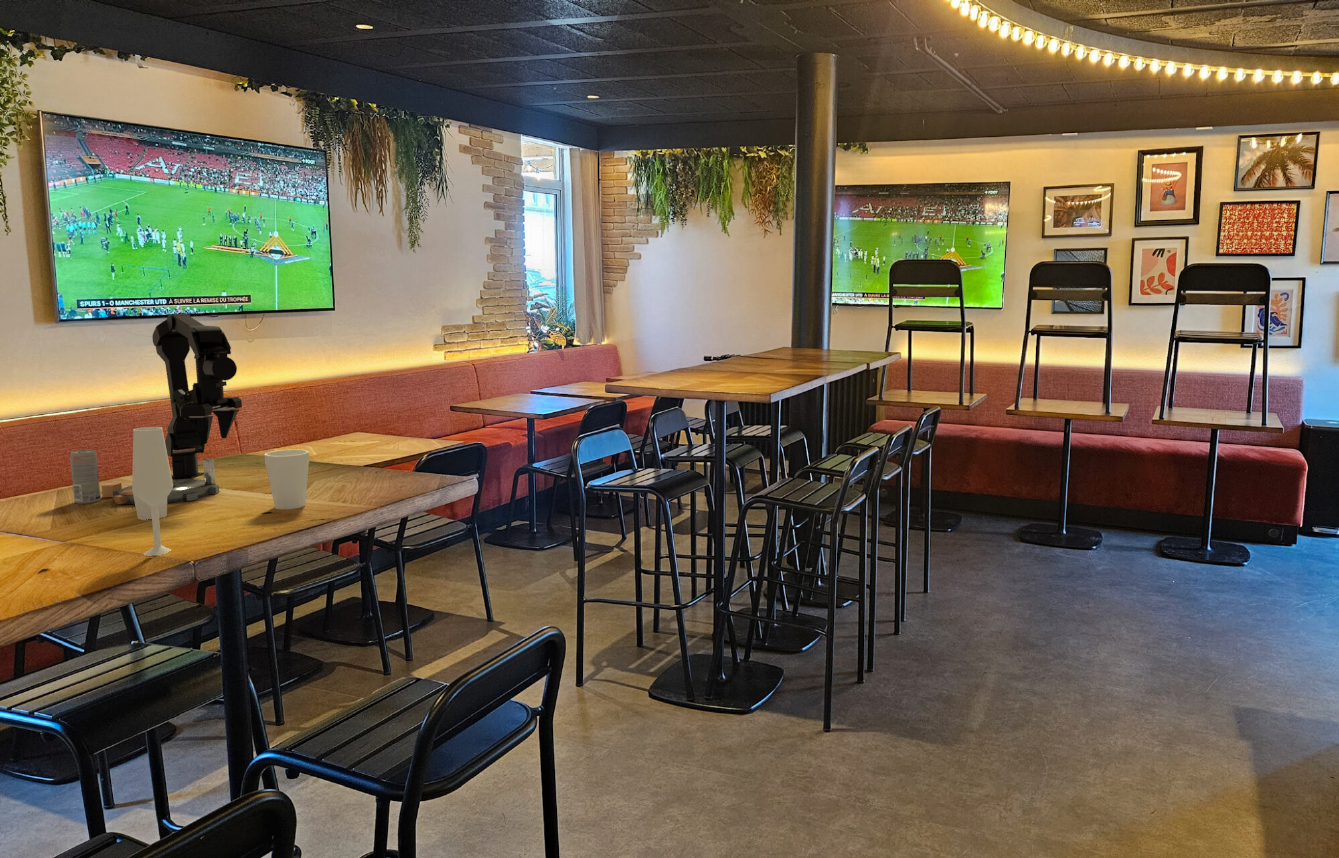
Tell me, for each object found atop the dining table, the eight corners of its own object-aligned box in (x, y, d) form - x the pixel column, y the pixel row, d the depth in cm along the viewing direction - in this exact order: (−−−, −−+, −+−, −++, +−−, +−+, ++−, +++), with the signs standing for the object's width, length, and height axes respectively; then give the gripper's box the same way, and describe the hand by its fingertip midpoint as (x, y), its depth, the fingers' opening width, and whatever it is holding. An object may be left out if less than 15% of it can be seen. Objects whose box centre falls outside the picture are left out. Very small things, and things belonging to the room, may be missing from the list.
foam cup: (260, 509, 219) (257, 453, 217) (300, 503, 225) (296, 448, 224) (280, 516, 212) (276, 458, 210) (320, 509, 219) (316, 452, 217)
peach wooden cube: (110, 494, 236) (109, 482, 235) (122, 495, 236) (121, 483, 235) (102, 497, 233) (101, 485, 232) (114, 497, 233) (113, 485, 232)
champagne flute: (151, 550, 185) (140, 426, 181) (185, 551, 184) (175, 426, 181) (130, 560, 178) (119, 431, 175) (166, 560, 178) (155, 431, 174)
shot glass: (176, 515, 214) (174, 484, 213) (157, 522, 208) (154, 490, 207) (147, 514, 215) (145, 483, 214) (127, 521, 208) (124, 489, 207)
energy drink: (97, 498, 232) (92, 448, 231) (103, 501, 228) (99, 451, 227) (71, 501, 229) (66, 451, 227) (77, 505, 225) (72, 454, 223)
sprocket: (151, 485, 245) (149, 454, 244) (237, 486, 243) (235, 455, 242) (89, 505, 223) (86, 471, 221) (184, 506, 220) (181, 472, 219)
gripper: (198, 374, 247) (203, 435, 250) (155, 381, 229) (161, 447, 231) (240, 374, 247) (245, 435, 249) (201, 381, 228) (206, 447, 230)
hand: (214, 441), depth 240 cm, fingers open, 9 cm apart
